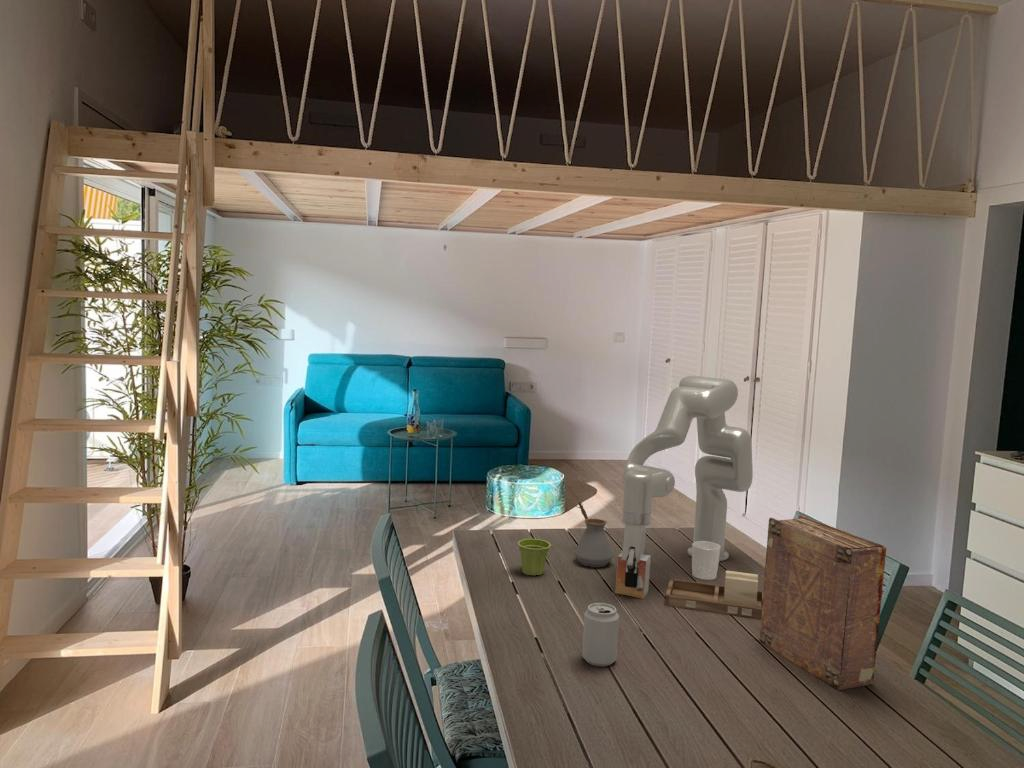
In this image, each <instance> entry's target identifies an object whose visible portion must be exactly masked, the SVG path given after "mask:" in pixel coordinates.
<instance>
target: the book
mask: <svg viewBox="0 0 1024 768" xmlns="http://www.w3.org/2000/svg"><path fill="white" fill-rule="evenodd" d="M767 526H768V527H767V541H766V551H765V553H766V554H765V556H766V557H765V565H764V568H765V569H764V580H763V590H762V591H763V604H762V617H761V619H760V633H759V643H761V644H762V645H764V646H765V647H767V648H768V649H770V650H772V651H773V652H775V653H777V654H778V655H780V656H782V657H784V658H785V659H787V660H788V661H790V662H791V663H793V664H795V665H796V666H798V667H800V668H802V669H803V670H805V671H806V672H808V673H809V674H811V675H813V676H814V677H816V678H818V679H820V680H821V681H823V682H825V683H826V684H828V685H829V686H830V687H833V688H834V689H836V690H837V691H843V690H848V689H854V688H860V687H865V686H870V685H873V684H874V679H875V678H874V676H875V669H876V666H875V665H876V658H877V657H876V656H877V648H878V639H879V630H880V629H879V626H880V616H881V604H882V599H883V598H882V597H883V587H884V578H885V569H886V568H885V567H886V565H885V564H886V556H887V547H886V546H885V545H882V544H880V543H877V542H874V541H871V540H868V539H866V538H863V537H860V536H858V535H856V534H852V533H850V532H847V531H844V530H842V529H840V528H836V527H834V526H831V525H828V524H826V523H823V522H820V521H817V520H815V519H813V518H810V517H807V516H804V515H799V516H798V518H793V519H791V518H790V519H776V518H774V517H769V518H768V525H767Z"/></svg>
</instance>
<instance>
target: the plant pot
mask: <svg viewBox="0 0 1024 768" xmlns="http://www.w3.org/2000/svg"><path fill="white" fill-rule="evenodd" d="M517 545H518V547H519V551H520V562H521V572H522V573H524V574H523V575H525V574H527V575H526V576H528V575H533V576H536V575H540V576H542V575H544V571H545V567H546V563H547V562H546V561H547V556H548V553H549V550H550V548H551V545H552V544H551V543H550V542H549V541H547V540H543V539H539V538H524V539H521V540H519V541H518V542H517ZM541 574H542V575H541Z"/></svg>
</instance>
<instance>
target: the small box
mask: <svg viewBox="0 0 1024 768" xmlns="http://www.w3.org/2000/svg"><path fill="white" fill-rule="evenodd" d="M651 558H652V555H649V554H643V555H642V558H641V560H640V562H638V564H637V573H638V578H637V587H636V588H633V587H626V586H625V572H626V566H627V559H626V560H624V561H623V560H622V551H621V552H620V553H619V554H618V556H617V562H616V563H617V564H616V576H615V577H616V578H615V591H614V593H615V594H617V595H623V596H629V597H633V598H638V599H643V600H644V599H645V598H646V595H648V593H649V585H650V584H649V583H650V572H651V560H652V559H651ZM634 561H636V559H634ZM633 565H634V566H635V564H634V563H633Z"/></svg>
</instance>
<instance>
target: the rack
mask: <svg viewBox="0 0 1024 768" xmlns="http://www.w3.org/2000/svg"><path fill="white" fill-rule="evenodd" d="M667 585H668V586H667V588H666V592H665V595H664V606H667V607H674V608H679V609H688V610H695V611H699V612H700V611H701V612H708V613H709V612H710V613H715V614H724V615H728V616H729V615H730V616H737V617H741V618H742V617H743V618H749V619H757V620H761V617H762V604H763V591H764V590H758V589H757V603H756V607H751V606H744V605H737V604H730V603H724V591H725V585H722V584H714V583H709V582H708V583H707V582H699V581H691V580H685V579H678V578H670V579H669V582H668V584H667Z"/></svg>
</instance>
